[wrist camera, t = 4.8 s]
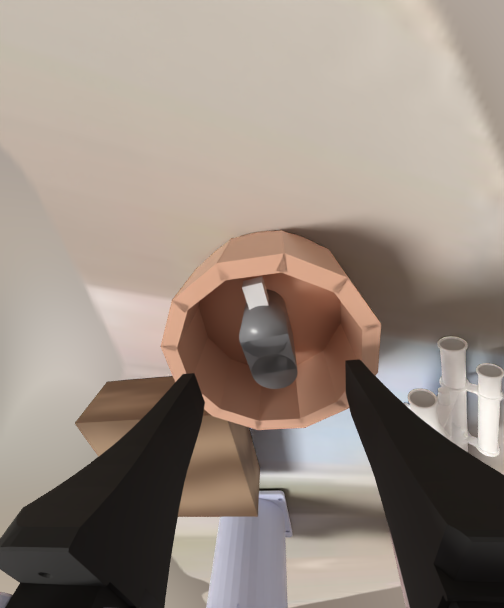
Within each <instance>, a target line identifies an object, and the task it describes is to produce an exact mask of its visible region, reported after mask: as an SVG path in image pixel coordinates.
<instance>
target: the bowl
mask: <svg viewBox="0 0 504 608" xmlns="http://www.w3.org/2000/svg"><path fill="white" fill-rule="evenodd" d="M262 276H263V280H264V283H265V287H266V289H268V290H272V291H275V292H277V293H278V294H279V295H281V297H282V298H283V299H284V302H285V305H286V309H287V313H288V317H289V321H290V325H291V329H292V333H293V338H294V347H295V355H296V363H297V377H296V379H295V381H294V382H293V383H292V384H290V385H289V386H287V387H284V388H281V389H270V388H266V387H263V386H261V385H260V384H258V383H257V382H256V381H255V380H254V378H253V376H252V373H251V371H250V368H249V365H248V363H247V360H246V357H245V354H244V352H243V349H242V346H241V344H240V340H239V334H240V329H241V324H242V319H243V314H244V309H245V304H246V298H245V295H244V292H243V289H242V285H243V281H245V280H249V279H253V278H257V277H262ZM380 333H381V323H380V321H379V320H378V319H377V317H376V316H375V314H374V313H373V311H372V310H371V309H370V307H369V306H368V304H367V303H366V301H365V300H364V299H363V297H362V296H361V294H360V293H359V292H358V290H357V289H356V287H355V286H354V285H353V283H352V282H351V281H350V279H349V278H348V276H347V275H346V273H345V272H344V270H343V269H342V268H341V266H340V265H339V263H338V262H337V260H336V259H335V258H334V256H333V255H332V253H331V252H330V250H329V249H328V248H325V247H322V246H320V245H318V244H316V243H315V242H313V241H311V240H309V239H307V238H305V237H302V236H299V235H296V234H292V233H287V232H284V231H282V230H280V231H263V232H255V233H250V234H246V235H243V236H240V237H236V238H231V239H230V240H229V241H228V242H227V243H226V244H224V245H223V246H221V247H220V248H219V249H217V250H216V251H215V252H214V253H213V254H212V255H211V256H210V257H209V258H208V259H207V260H206V261H204V262H203V263H202V264H201V265H200V266H199V267H197V268H196V270H195V271H194V272H193V273H192V275H191V276H190V277H189V279H188V280H187V281H186V282H185V284H184V285H183V286H182V288H181V289H180V290H179V292H178V293H177V294H176V295H175V297H174V298H173V299H172V302H171V306H170V311H169V315H168V319H167V323H166V327H165V331H164V335H163V339H162V343H161V348H162V351H163V353H164V356H165V358H166V361H167V363H168V365H169V368H170V370H171V373H172V375H173V378H174V380H175V382H176V381H177V380H178V379H179V378H180V377H181V376H182V374H189V373H195V376H196V379H197V382H198V384H199V387H200V390H201V393H202V396H203V398H204V401H205V406H204V410H206V411H207V412H208V413H209V414H211V415H212V416H214V417H217V418H220V419H223V420H227V421H230V422H233V423H236V424H240V425H243V426H246V427H249V428H253V429H256V430H268V429H288V428H306V427H308V426H310V425H312V424H314V423H317V422H319V421H321V420H323V419H326V418H328V417H330V416H332V415H335V414H337V413H339V412H341V411H344V410H346V409H348V408H349V404H348V400H347V396H346V373H345V360H357V359H360V360H361V361H362V362H363V363H364V364H365V365H366V366H367V368H368V369H369V370H370V371H371V372H372V373H373V374H374V375H376V374H377V373H378V363H379V348H380Z"/></svg>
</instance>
